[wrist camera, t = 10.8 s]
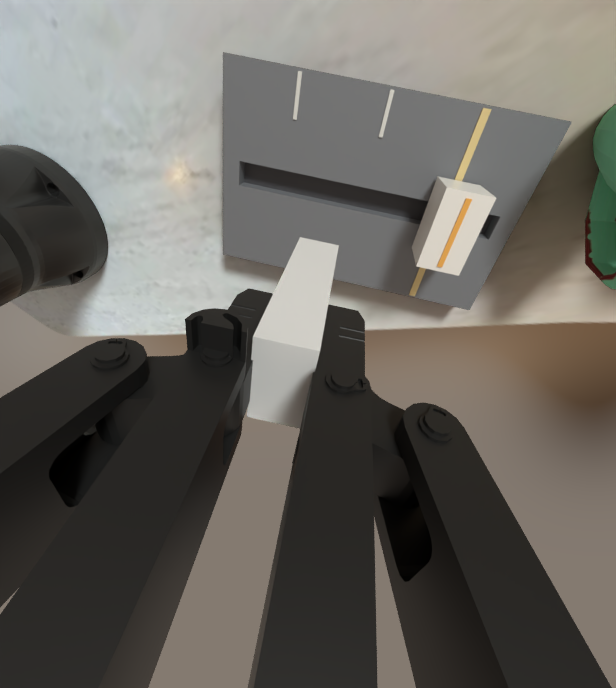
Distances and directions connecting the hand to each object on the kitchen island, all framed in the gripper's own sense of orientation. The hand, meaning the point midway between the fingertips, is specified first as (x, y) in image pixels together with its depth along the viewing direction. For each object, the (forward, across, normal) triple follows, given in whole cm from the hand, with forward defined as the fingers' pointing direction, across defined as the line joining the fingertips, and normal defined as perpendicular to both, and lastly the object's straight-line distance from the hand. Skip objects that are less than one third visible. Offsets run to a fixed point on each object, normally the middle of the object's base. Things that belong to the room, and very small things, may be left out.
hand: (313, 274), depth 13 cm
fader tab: (+20, +9, -1) cm, 22 cm away
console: (+22, +2, -1) cm, 22 cm away
